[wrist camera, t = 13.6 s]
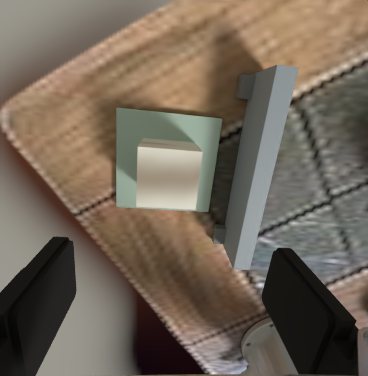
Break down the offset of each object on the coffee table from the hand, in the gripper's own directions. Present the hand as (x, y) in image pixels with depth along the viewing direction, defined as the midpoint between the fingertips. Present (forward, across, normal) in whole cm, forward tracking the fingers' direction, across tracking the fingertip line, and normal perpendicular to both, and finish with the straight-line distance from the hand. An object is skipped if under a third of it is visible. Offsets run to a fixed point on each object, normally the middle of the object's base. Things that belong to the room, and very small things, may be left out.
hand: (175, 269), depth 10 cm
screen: (+19, -9, -1) cm, 21 cm away
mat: (+19, 0, -1) cm, 19 cm away
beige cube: (+18, 0, -1) cm, 18 cm away
